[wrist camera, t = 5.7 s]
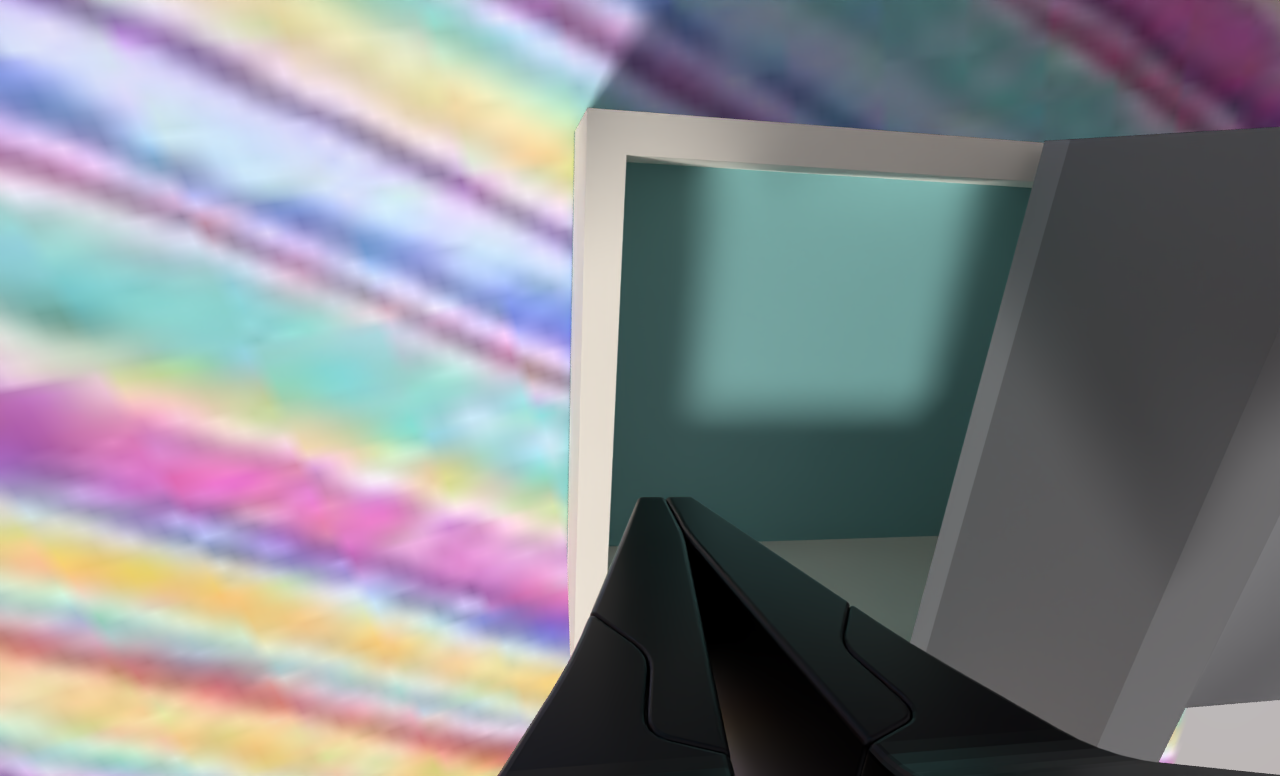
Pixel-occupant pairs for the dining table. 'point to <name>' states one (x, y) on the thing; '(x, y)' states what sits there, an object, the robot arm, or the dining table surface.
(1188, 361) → the lid
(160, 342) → the dining table surface
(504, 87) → the dining table surface
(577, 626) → the box
